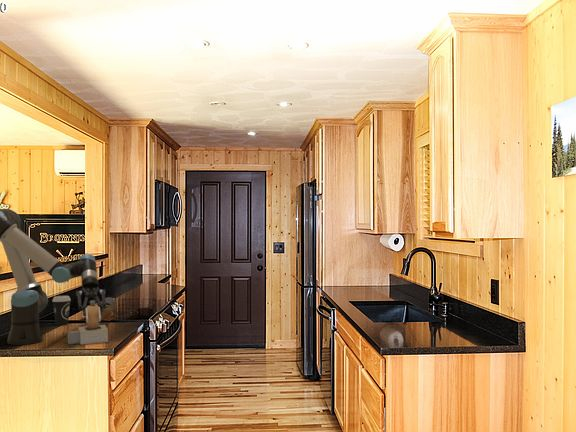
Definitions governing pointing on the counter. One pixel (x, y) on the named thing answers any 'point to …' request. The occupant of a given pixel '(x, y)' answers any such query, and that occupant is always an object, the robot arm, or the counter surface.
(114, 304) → the bluetooth speaker
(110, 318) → the tin
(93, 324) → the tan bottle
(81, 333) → the motor housing
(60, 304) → the coffee cup
